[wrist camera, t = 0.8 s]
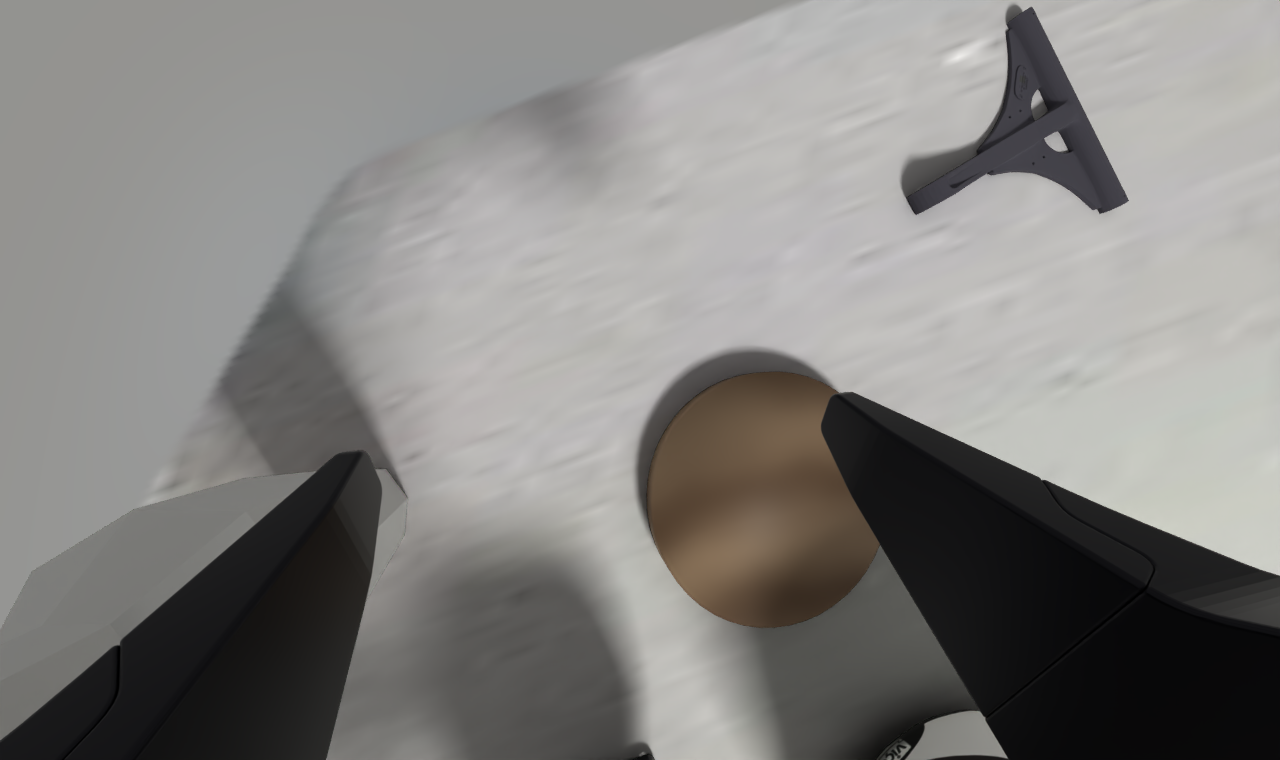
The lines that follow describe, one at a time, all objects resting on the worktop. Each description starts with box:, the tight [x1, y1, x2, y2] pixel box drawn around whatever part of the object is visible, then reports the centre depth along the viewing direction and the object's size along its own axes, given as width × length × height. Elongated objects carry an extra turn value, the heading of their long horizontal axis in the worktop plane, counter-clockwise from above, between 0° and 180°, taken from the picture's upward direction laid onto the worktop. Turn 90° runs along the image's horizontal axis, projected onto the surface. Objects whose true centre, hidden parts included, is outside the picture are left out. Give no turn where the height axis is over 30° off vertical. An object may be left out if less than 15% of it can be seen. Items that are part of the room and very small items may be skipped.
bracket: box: [907, 7, 1129, 215], centre depth 29 cm, size 14×15×3 cm
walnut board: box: [647, 372, 880, 628], centre depth 26 cm, size 14×14×2 cm
